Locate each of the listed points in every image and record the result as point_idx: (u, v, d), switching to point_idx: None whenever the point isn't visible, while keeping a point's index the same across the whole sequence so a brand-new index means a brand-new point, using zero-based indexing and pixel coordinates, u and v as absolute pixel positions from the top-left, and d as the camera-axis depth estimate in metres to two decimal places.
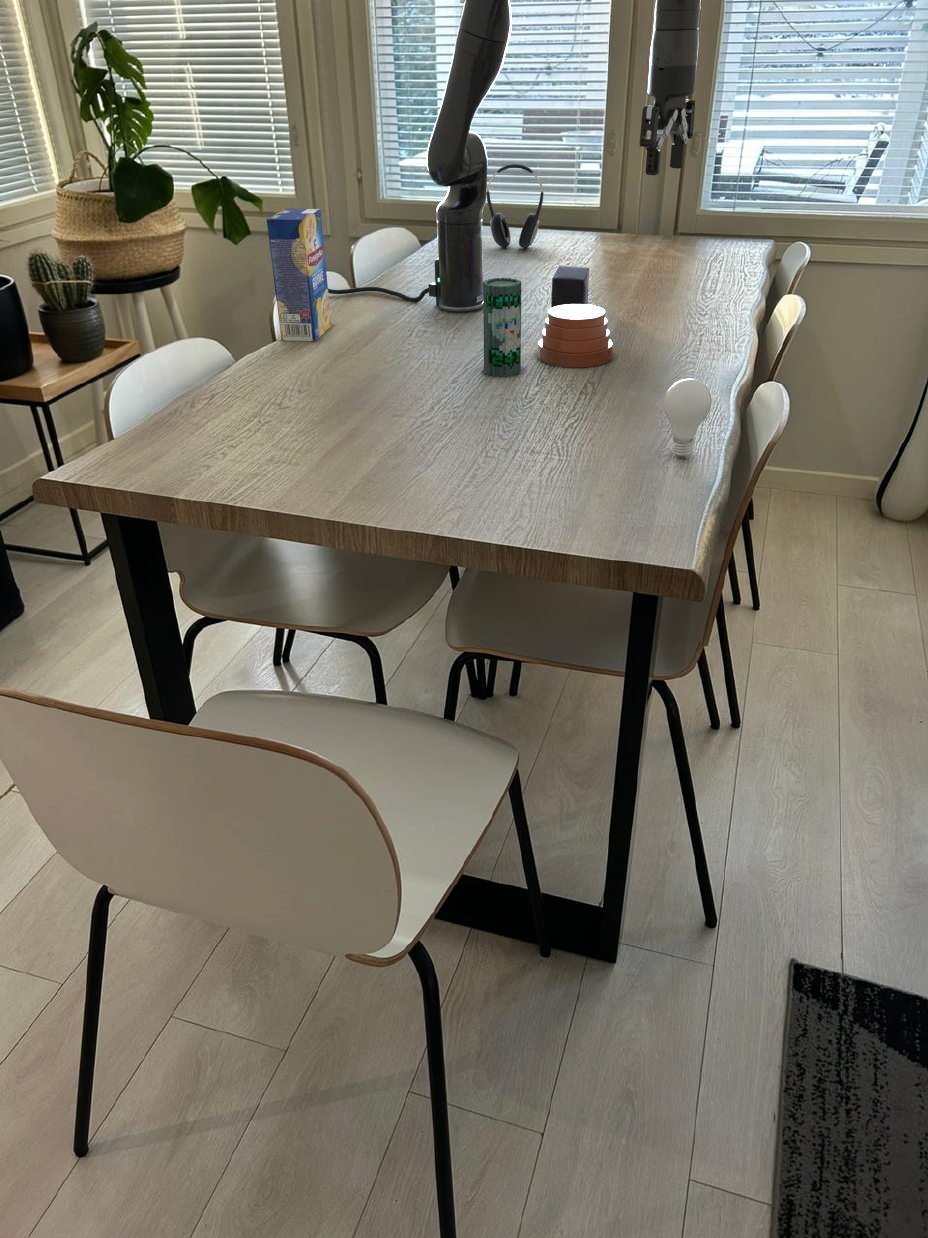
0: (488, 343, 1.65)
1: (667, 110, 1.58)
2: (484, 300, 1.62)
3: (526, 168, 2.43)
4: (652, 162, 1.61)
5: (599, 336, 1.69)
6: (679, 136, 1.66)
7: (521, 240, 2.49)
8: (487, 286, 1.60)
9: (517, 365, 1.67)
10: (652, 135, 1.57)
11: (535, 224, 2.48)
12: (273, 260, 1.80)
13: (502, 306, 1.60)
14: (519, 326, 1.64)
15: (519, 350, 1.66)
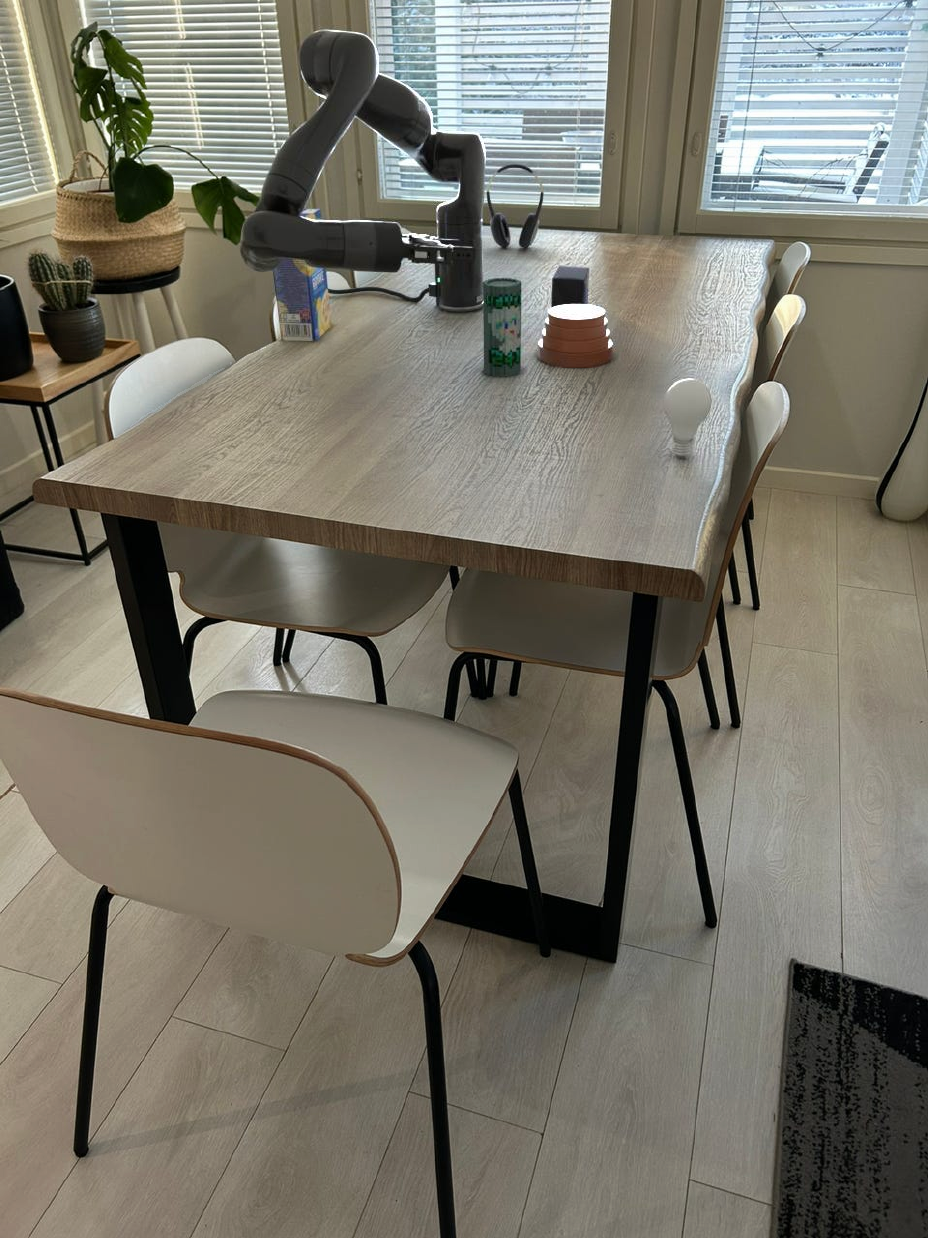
0: (488, 343, 1.65)
1: None
2: (484, 300, 1.62)
3: (526, 168, 2.43)
4: None
5: (599, 336, 1.69)
6: None
7: (521, 240, 2.49)
8: (487, 286, 1.60)
9: (517, 365, 1.67)
10: None
11: (535, 224, 2.48)
12: None
13: (502, 306, 1.60)
14: (519, 326, 1.64)
15: (519, 350, 1.66)
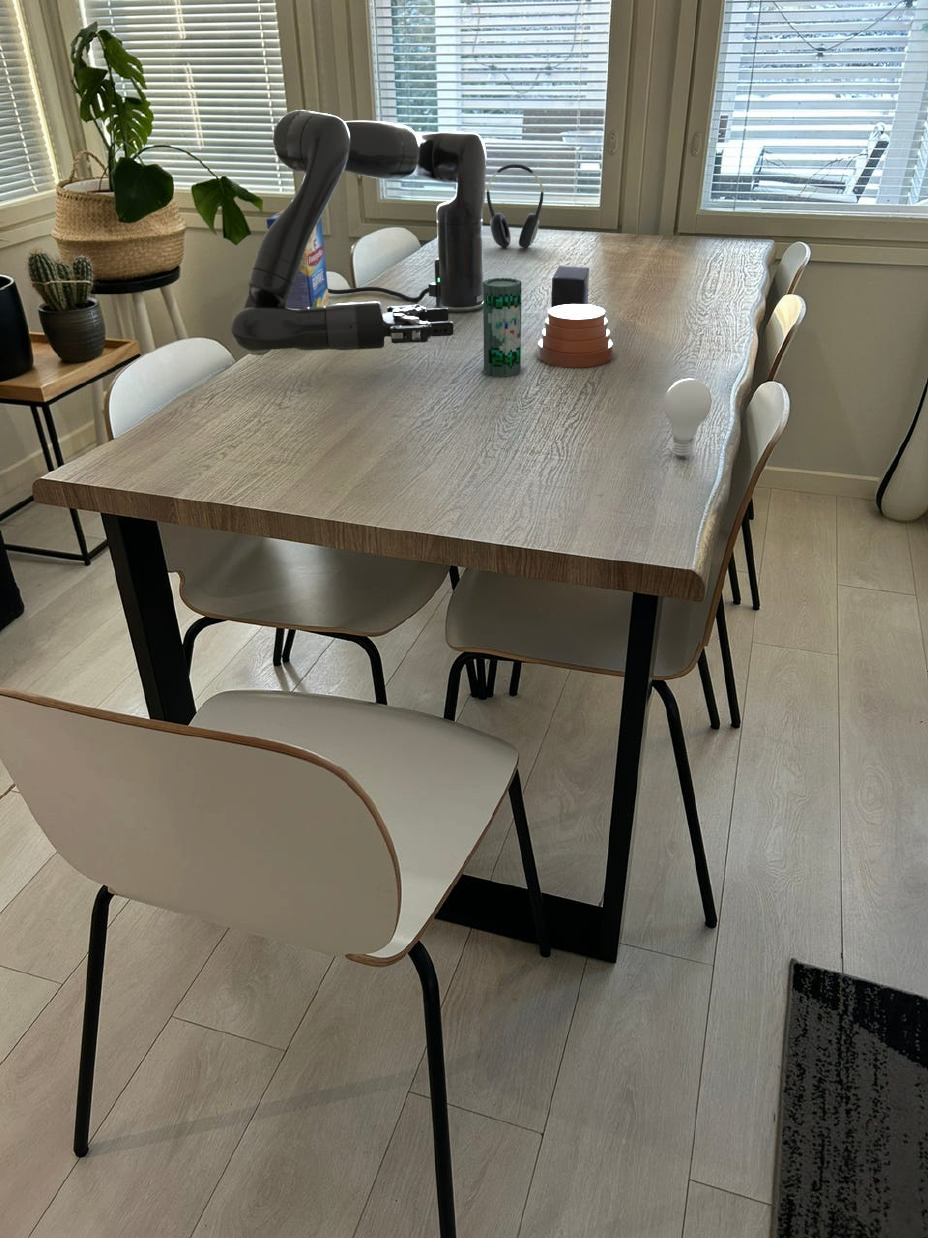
0: (488, 343, 1.65)
1: None
2: (484, 300, 1.62)
3: (526, 168, 2.43)
4: None
5: (599, 336, 1.69)
6: None
7: (521, 240, 2.49)
8: (487, 286, 1.60)
9: (517, 365, 1.67)
10: None
11: (535, 224, 2.48)
12: None
13: (503, 306, 1.60)
14: (519, 326, 1.64)
15: (519, 350, 1.66)
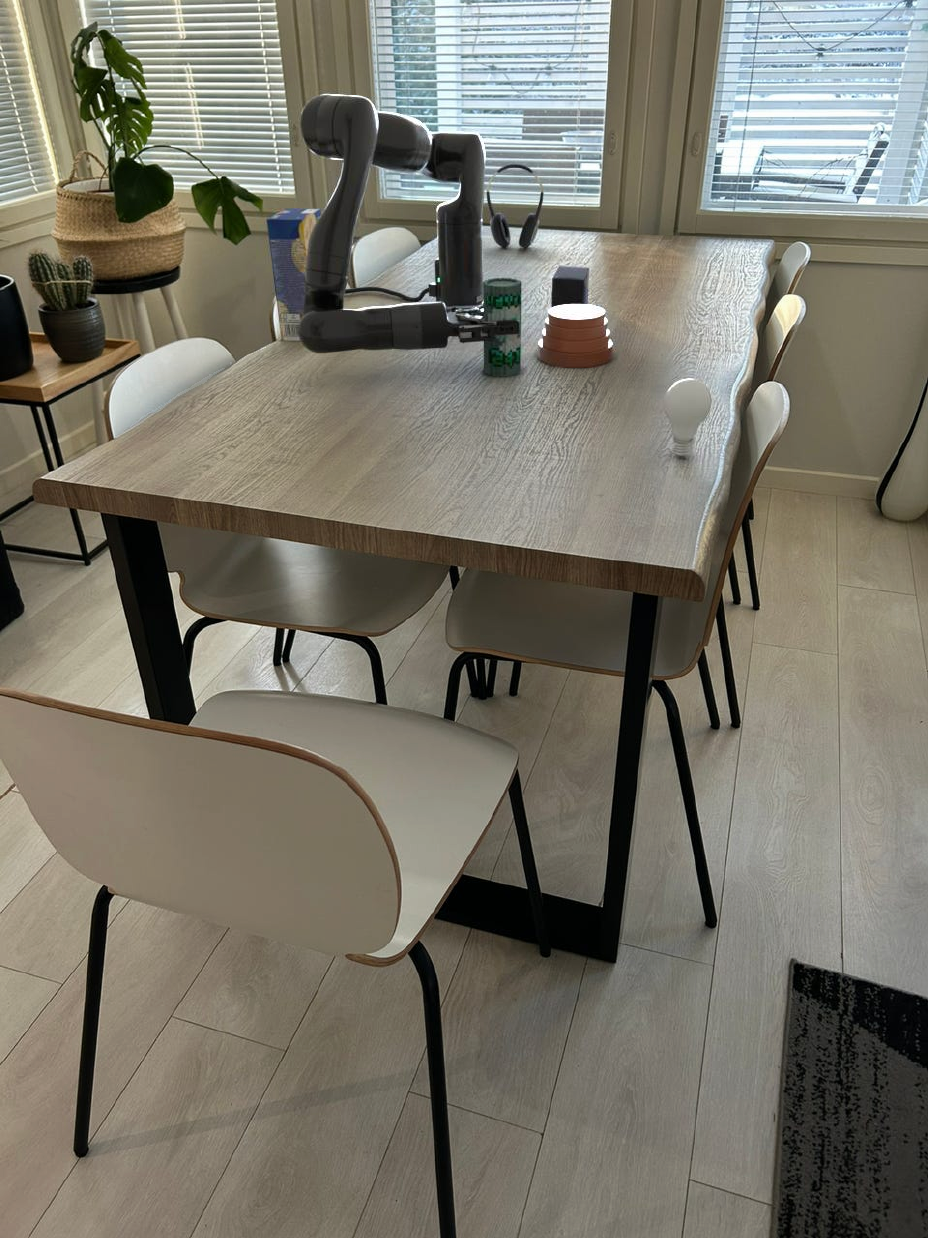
0: (488, 343, 1.65)
1: None
2: (484, 300, 1.62)
3: (526, 168, 2.43)
4: None
5: (599, 336, 1.69)
6: None
7: (521, 240, 2.49)
8: (487, 286, 1.60)
9: (517, 365, 1.67)
10: None
11: (535, 224, 2.48)
12: (273, 260, 1.80)
13: (503, 306, 1.60)
14: None
15: (519, 350, 1.66)
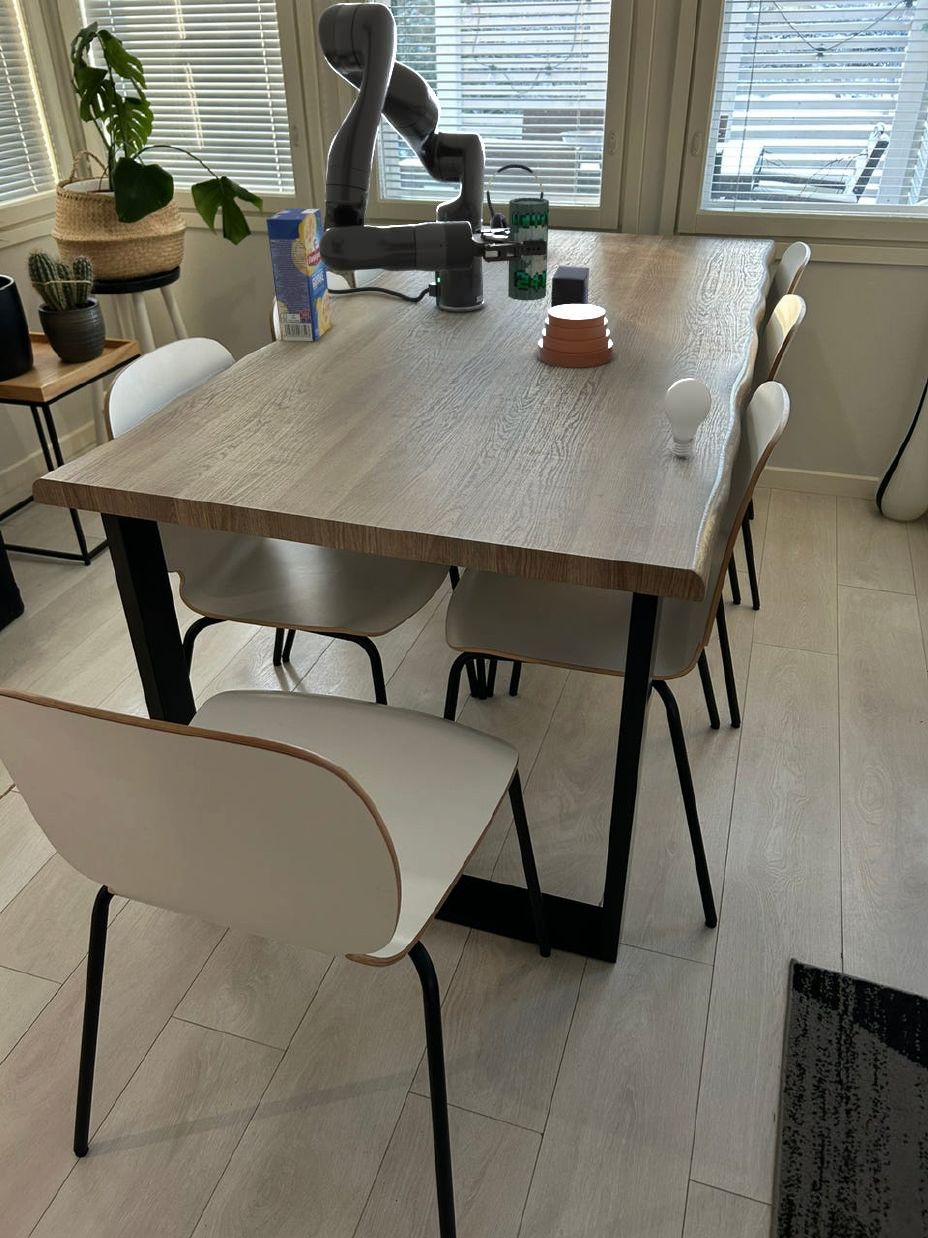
0: (513, 265, 1.60)
1: None
2: (510, 219, 1.57)
3: (526, 168, 2.43)
4: None
5: (599, 336, 1.69)
6: None
7: None
8: (514, 204, 1.55)
9: (543, 289, 1.63)
10: None
11: None
12: (273, 260, 1.80)
13: (529, 225, 1.56)
14: None
15: (545, 274, 1.62)
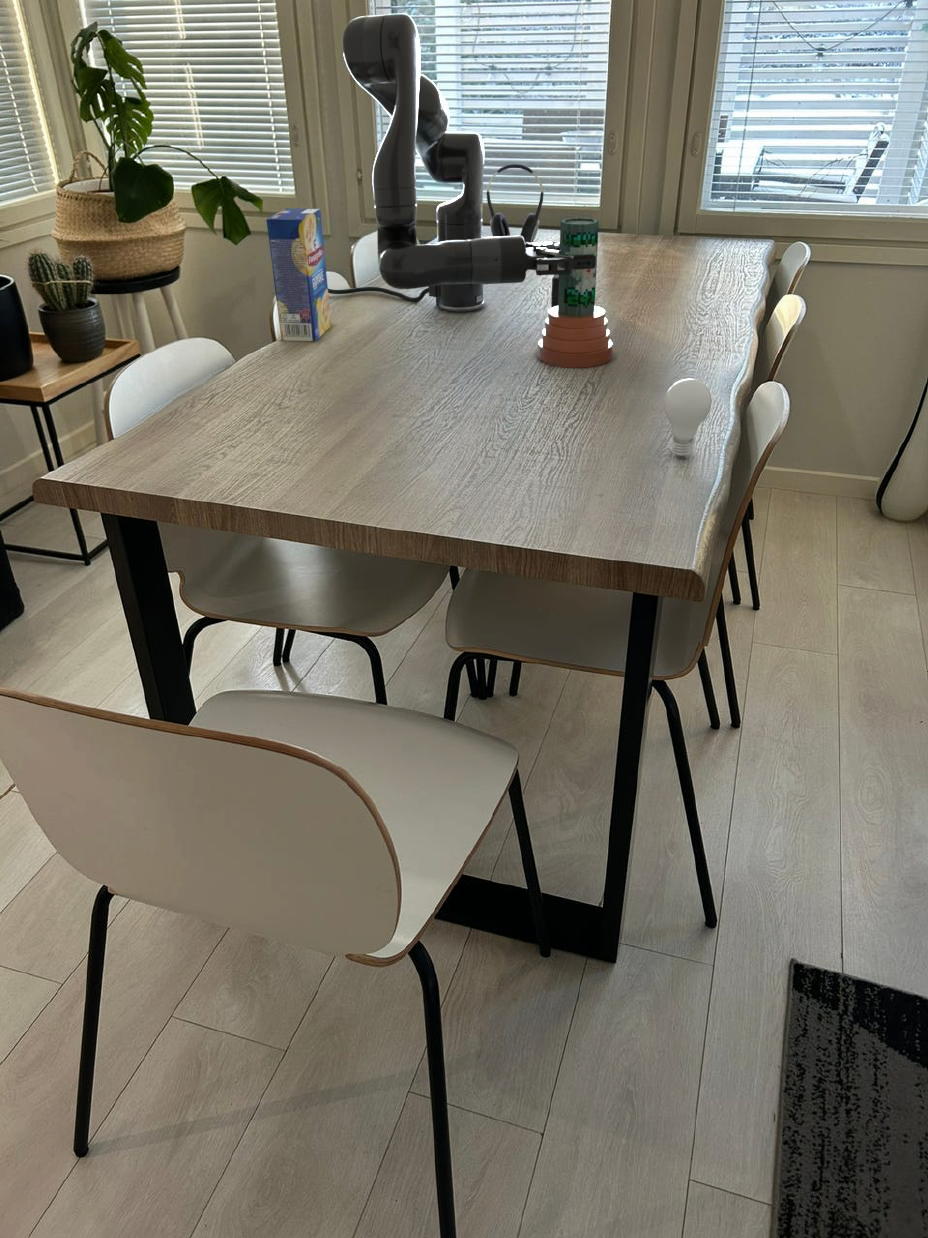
0: (563, 282, 1.66)
1: None
2: (561, 239, 1.64)
3: (526, 168, 2.43)
4: None
5: (599, 336, 1.69)
6: None
7: None
8: (565, 224, 1.61)
9: (592, 305, 1.69)
10: None
11: (535, 224, 2.48)
12: (273, 260, 1.80)
13: (580, 244, 1.62)
14: None
15: (594, 290, 1.68)
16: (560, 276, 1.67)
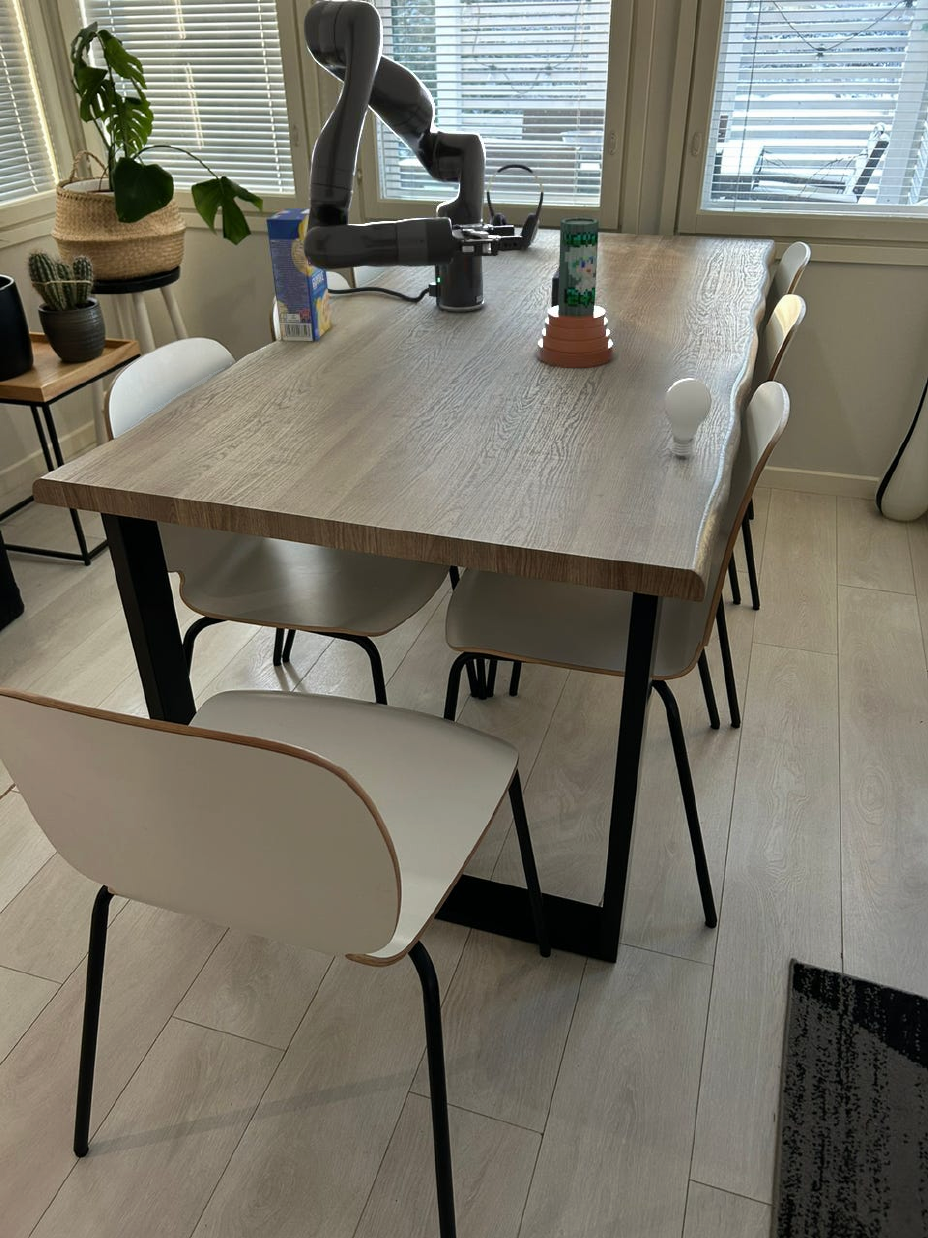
0: (563, 282, 1.66)
1: None
2: (561, 239, 1.64)
3: (526, 168, 2.43)
4: None
5: (599, 336, 1.69)
6: None
7: None
8: (565, 224, 1.61)
9: (592, 305, 1.69)
10: None
11: (535, 224, 2.48)
12: (273, 260, 1.80)
13: (580, 244, 1.62)
14: (595, 265, 1.66)
15: (594, 290, 1.68)
16: (560, 276, 1.67)
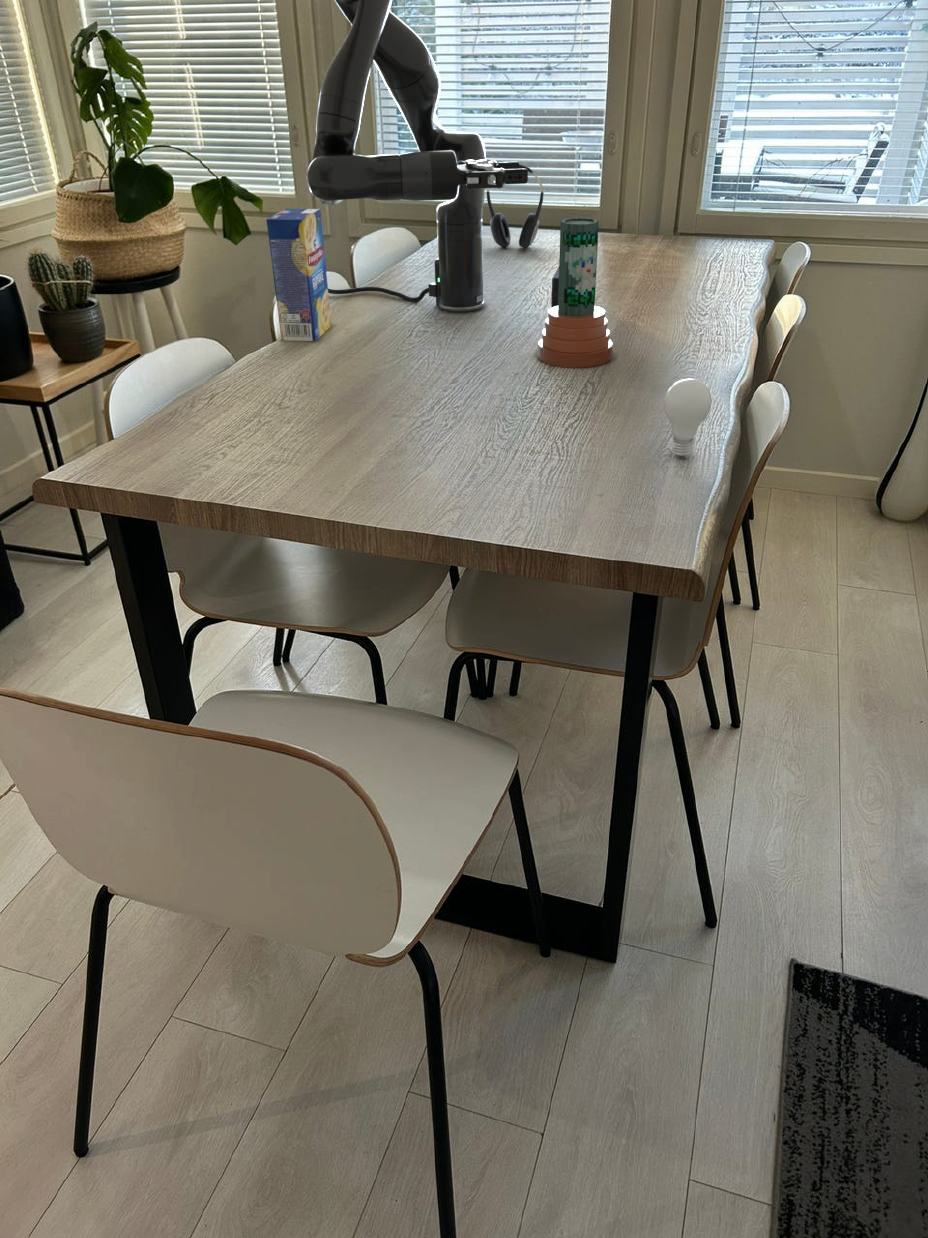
0: (563, 282, 1.66)
1: None
2: (561, 239, 1.64)
3: (526, 168, 2.43)
4: None
5: (599, 336, 1.69)
6: None
7: (521, 240, 2.49)
8: (565, 224, 1.61)
9: (592, 305, 1.69)
10: None
11: (535, 224, 2.48)
12: (273, 260, 1.80)
13: (580, 244, 1.62)
14: (595, 265, 1.66)
15: (594, 290, 1.68)
16: (560, 276, 1.67)
